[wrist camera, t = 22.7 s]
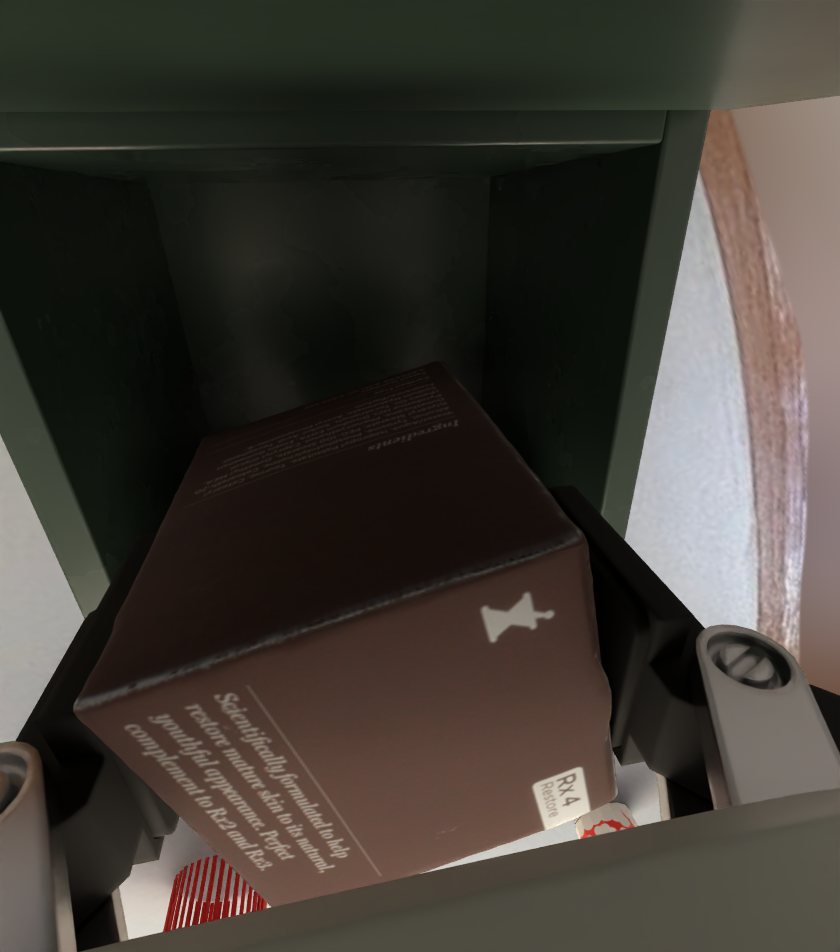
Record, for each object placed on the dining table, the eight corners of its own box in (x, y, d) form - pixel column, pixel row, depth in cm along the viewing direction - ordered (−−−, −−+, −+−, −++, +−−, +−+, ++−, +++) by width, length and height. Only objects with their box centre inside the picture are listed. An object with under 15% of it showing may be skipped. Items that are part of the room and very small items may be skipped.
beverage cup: (574, 803, 39) (690, 1074, 27) (645, 791, 40) (789, 1047, 28) (560, 846, 42) (659, 1110, 29) (627, 834, 43) (750, 1084, 31)
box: (196, 430, 12) (45, 705, 5) (446, 351, 12) (598, 524, 5) (296, 615, 15) (278, 933, 8) (493, 549, 15) (627, 812, 8)
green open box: (490, 488, 24) (600, 666, 15) (216, 519, 22) (140, 745, 13) (505, 151, 18) (717, 84, 8) (122, 157, 16) (-164, 79, 6)
